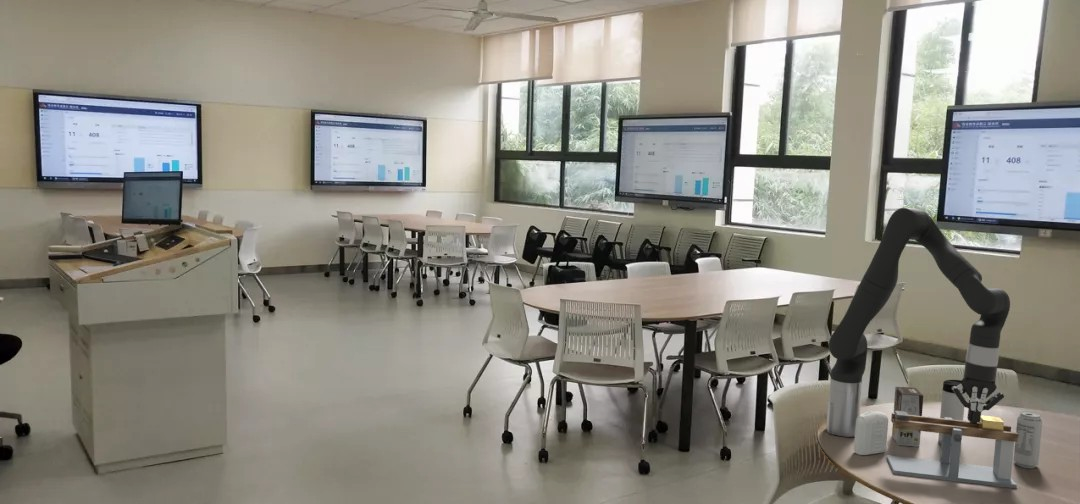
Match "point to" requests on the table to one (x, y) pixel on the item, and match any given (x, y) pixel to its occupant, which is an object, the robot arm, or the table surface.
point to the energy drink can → (1028, 439)
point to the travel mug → (951, 403)
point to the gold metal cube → (991, 423)
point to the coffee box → (913, 405)
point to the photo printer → (871, 433)
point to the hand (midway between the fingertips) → (973, 423)
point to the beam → (949, 426)
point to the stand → (959, 464)
